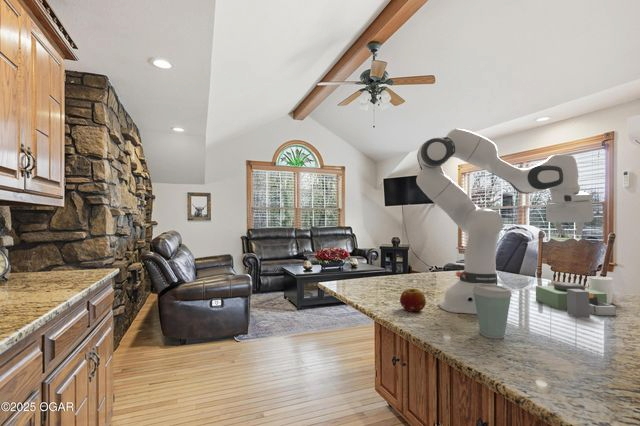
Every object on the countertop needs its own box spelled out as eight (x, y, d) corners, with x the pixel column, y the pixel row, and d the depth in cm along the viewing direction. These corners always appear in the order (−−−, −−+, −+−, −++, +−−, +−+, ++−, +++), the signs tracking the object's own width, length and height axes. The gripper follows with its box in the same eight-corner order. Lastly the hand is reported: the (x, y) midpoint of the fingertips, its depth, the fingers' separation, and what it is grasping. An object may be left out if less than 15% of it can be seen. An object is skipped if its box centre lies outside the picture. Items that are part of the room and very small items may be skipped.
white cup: (603, 299, 139) (603, 276, 139) (619, 304, 131) (618, 279, 131) (584, 299, 139) (583, 276, 140) (598, 304, 132) (597, 279, 132)
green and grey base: (571, 314, 117) (570, 292, 118) (535, 299, 139) (535, 281, 139) (623, 315, 116) (623, 292, 116) (579, 300, 138) (579, 281, 138)
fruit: (398, 312, 122) (398, 291, 122) (401, 306, 130) (401, 286, 131) (425, 314, 118) (424, 293, 119) (426, 308, 127) (426, 288, 127)
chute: (576, 317, 115) (575, 291, 115) (567, 313, 119) (567, 288, 119) (595, 317, 114) (595, 291, 114) (586, 313, 119) (585, 289, 119)
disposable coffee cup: (505, 330, 102) (504, 282, 102) (519, 343, 91) (518, 290, 91) (469, 328, 104) (468, 281, 104) (478, 340, 93) (477, 288, 93)
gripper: (539, 199, 131) (543, 233, 131) (576, 196, 111) (580, 236, 110) (555, 198, 131) (559, 232, 130) (595, 194, 110) (600, 235, 110)
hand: (569, 234), depth 120 cm, fingers open, 8 cm apart
